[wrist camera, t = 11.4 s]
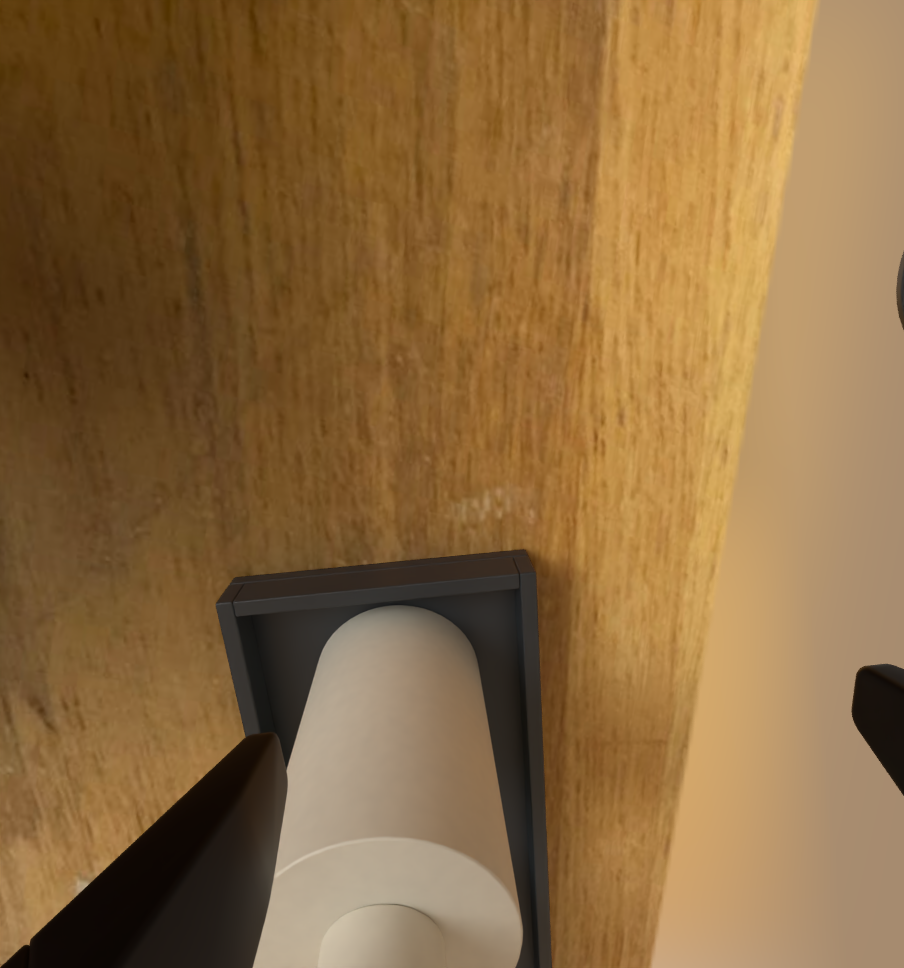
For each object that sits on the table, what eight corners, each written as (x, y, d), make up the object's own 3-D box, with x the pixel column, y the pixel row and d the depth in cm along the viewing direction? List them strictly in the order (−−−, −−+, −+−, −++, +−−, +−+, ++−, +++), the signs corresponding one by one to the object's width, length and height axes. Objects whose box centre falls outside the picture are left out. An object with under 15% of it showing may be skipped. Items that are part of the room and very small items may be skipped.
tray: (525, 548, 22) (536, 572, 20) (549, 1072, 31) (558, 1125, 29) (234, 576, 21) (214, 603, 19) (344, 1097, 30) (339, 1153, 28)
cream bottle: (473, 596, 21) (549, 987, 9) (483, 734, 23) (557, 1216, 11) (305, 612, 21) (142, 1034, 9) (329, 750, 23) (223, 1261, 11)
